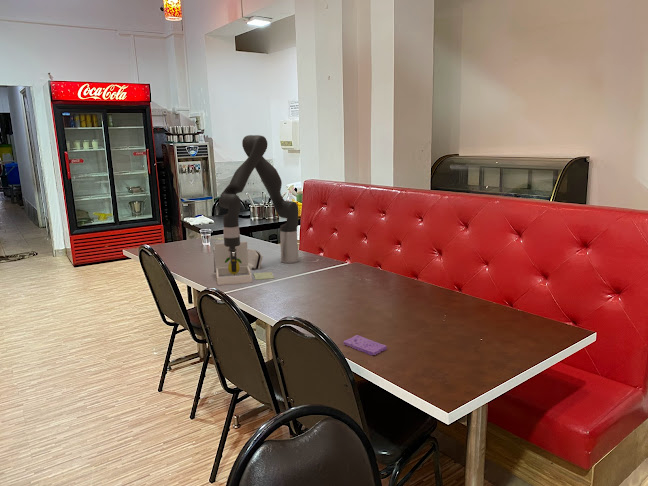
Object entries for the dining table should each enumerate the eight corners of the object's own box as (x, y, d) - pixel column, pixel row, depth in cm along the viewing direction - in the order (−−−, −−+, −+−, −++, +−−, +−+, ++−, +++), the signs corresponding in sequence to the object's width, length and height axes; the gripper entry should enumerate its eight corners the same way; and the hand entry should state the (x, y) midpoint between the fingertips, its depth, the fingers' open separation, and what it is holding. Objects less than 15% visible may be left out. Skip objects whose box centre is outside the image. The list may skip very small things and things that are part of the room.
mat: (271, 272, 246) (271, 271, 246) (274, 278, 236) (274, 277, 236) (253, 274, 244) (253, 273, 244) (255, 280, 234) (255, 279, 234)
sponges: (357, 339, 163) (357, 334, 163) (387, 350, 155) (387, 345, 154) (343, 346, 158) (342, 340, 158) (373, 357, 150) (373, 352, 149)
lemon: (225, 276, 234) (224, 256, 232) (229, 273, 240) (228, 253, 238) (238, 276, 233) (237, 256, 231) (242, 273, 239) (241, 253, 237)
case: (248, 271, 250) (246, 241, 246) (252, 282, 230) (250, 250, 227) (214, 274, 246) (212, 243, 243) (215, 285, 226) (213, 252, 223)
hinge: (238, 263, 266) (243, 246, 265) (246, 265, 268) (251, 248, 268) (251, 270, 252) (256, 251, 252) (259, 272, 254) (264, 253, 254)
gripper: (240, 238, 227) (242, 273, 230) (238, 232, 240) (240, 265, 244) (224, 239, 225) (226, 274, 228) (223, 233, 239) (225, 267, 242)
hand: (233, 269), depth 236 cm, fingers closed on lemon, 5 cm apart
